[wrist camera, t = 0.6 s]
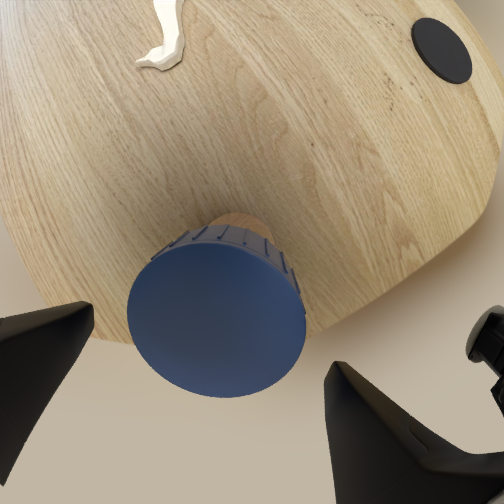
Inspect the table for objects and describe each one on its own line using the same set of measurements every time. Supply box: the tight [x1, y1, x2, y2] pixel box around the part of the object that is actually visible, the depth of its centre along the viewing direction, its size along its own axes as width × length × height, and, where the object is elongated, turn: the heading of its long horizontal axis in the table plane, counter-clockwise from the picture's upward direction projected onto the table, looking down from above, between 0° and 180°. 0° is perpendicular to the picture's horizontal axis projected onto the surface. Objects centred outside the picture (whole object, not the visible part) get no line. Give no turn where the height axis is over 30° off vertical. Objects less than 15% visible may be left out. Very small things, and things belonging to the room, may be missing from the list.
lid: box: [127, 224, 306, 398], centre depth 11 cm, size 7×7×3 cm
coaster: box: [412, 18, 472, 84], centre depth 14 cm, size 7×7×1 cm
